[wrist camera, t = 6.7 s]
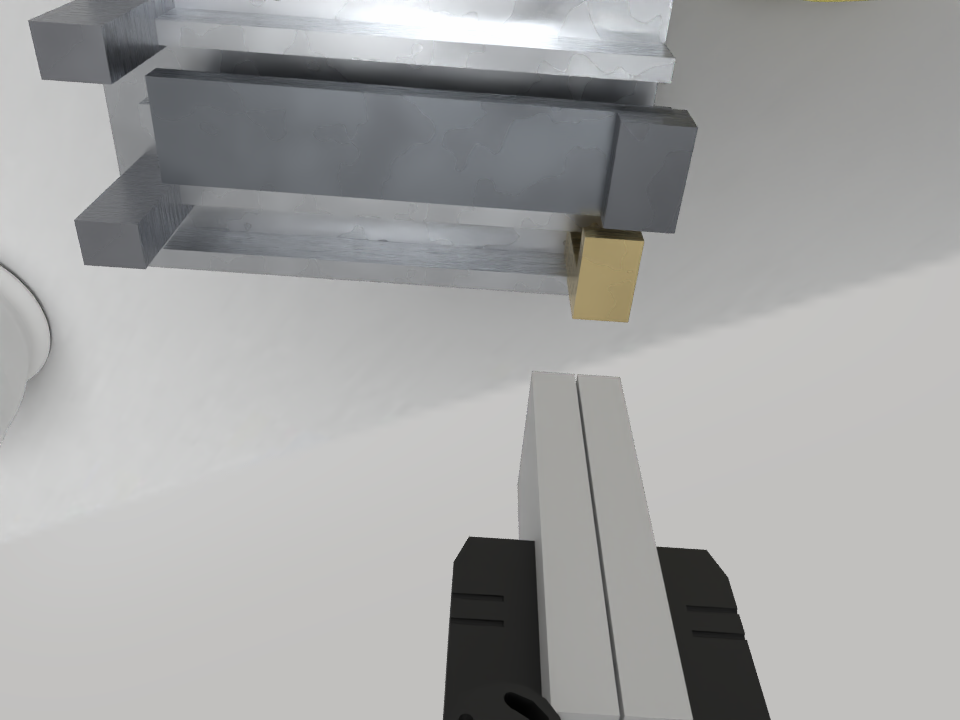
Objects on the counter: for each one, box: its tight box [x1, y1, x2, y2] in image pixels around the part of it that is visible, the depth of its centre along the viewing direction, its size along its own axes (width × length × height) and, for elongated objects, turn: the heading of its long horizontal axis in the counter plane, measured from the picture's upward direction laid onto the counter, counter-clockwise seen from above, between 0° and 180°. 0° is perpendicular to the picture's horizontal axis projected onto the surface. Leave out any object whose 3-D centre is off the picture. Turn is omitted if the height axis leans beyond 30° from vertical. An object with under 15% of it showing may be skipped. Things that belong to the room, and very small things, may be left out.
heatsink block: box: [28, 0, 676, 322], centre depth 30 cm, size 20×14×12 cm
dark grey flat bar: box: [145, 68, 698, 233], centre depth 27 cm, size 18×4×2 cm, turn 86°
